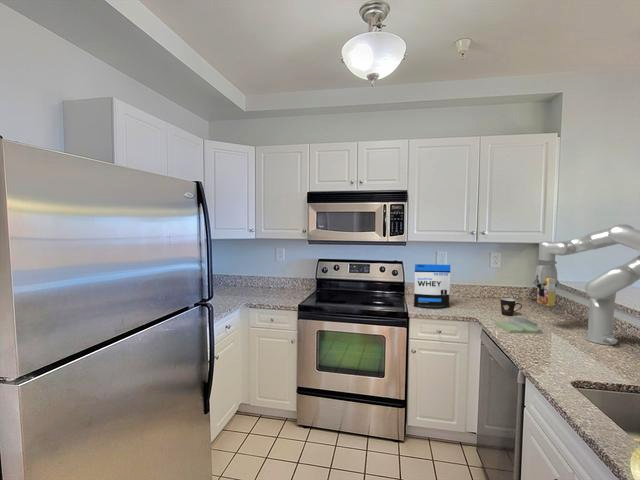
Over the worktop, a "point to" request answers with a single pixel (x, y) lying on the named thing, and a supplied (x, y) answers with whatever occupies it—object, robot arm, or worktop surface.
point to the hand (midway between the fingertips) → (545, 295)
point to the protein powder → (432, 286)
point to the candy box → (548, 293)
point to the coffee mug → (508, 306)
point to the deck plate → (513, 329)
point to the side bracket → (522, 323)
